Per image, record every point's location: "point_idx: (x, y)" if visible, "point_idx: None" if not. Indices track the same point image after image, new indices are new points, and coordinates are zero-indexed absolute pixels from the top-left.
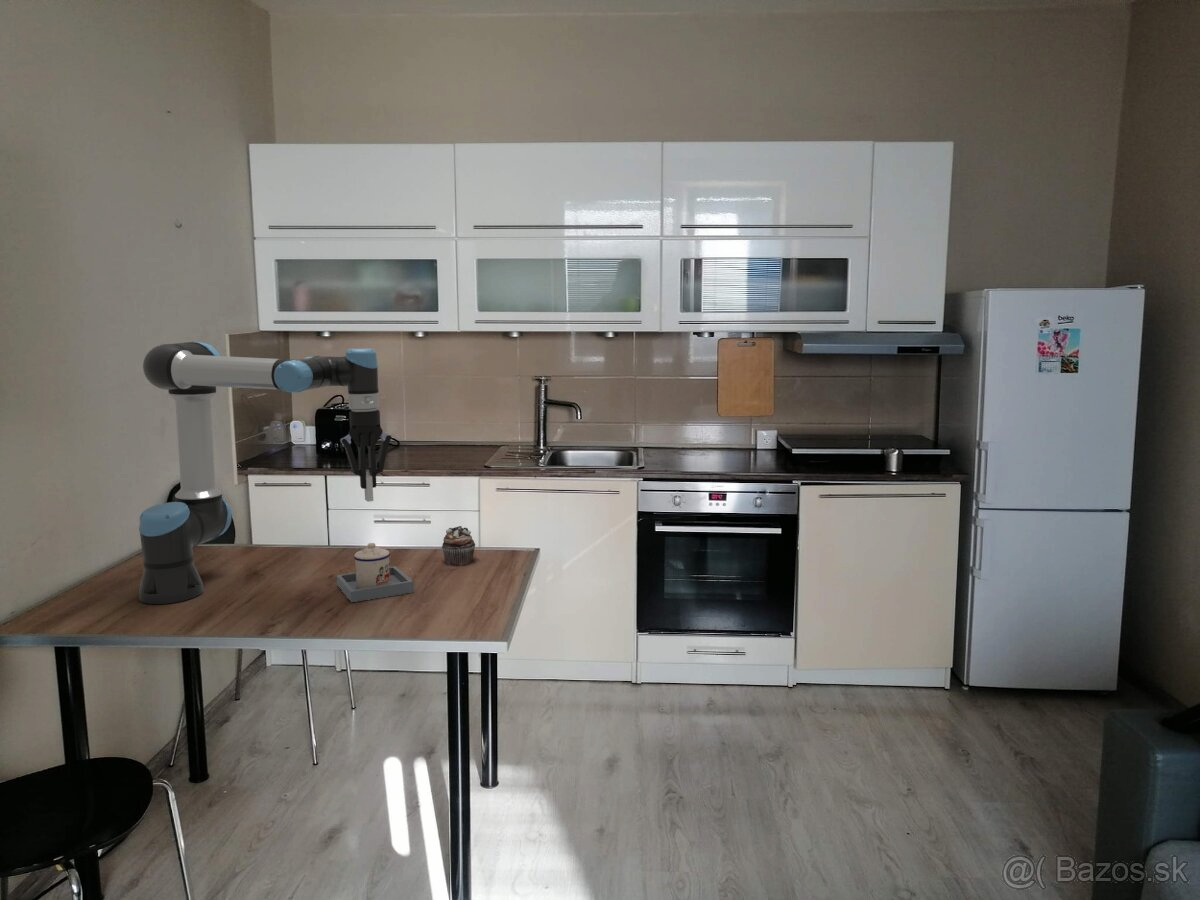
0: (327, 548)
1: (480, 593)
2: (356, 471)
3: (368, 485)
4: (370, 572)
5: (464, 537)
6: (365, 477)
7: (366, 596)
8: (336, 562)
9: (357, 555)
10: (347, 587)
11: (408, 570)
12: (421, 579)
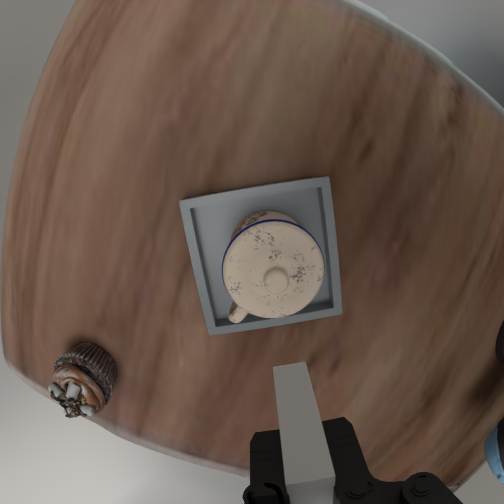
0: None
1: (65, 151)
2: (427, 492)
3: (310, 428)
4: (281, 217)
5: (60, 377)
6: (335, 479)
7: (291, 180)
8: None
9: (318, 256)
10: (333, 212)
11: (185, 353)
12: (161, 286)
